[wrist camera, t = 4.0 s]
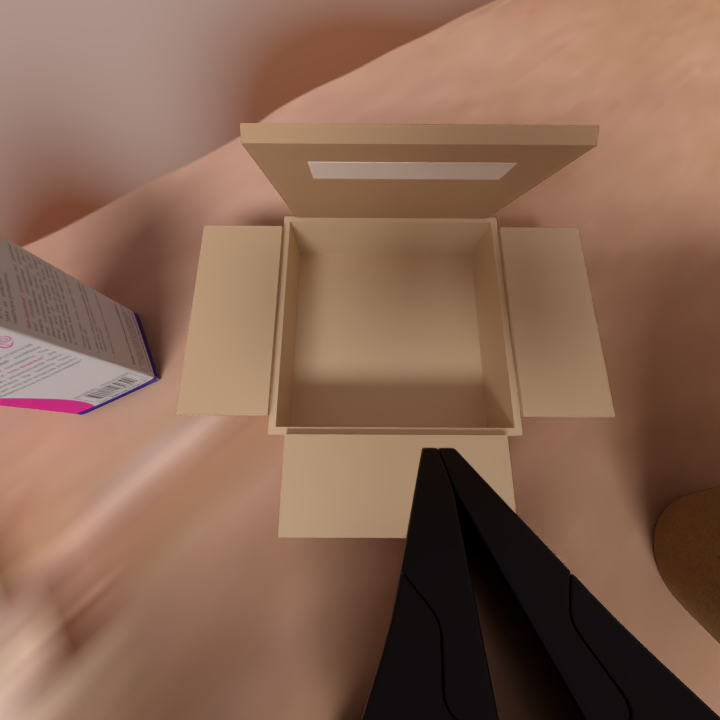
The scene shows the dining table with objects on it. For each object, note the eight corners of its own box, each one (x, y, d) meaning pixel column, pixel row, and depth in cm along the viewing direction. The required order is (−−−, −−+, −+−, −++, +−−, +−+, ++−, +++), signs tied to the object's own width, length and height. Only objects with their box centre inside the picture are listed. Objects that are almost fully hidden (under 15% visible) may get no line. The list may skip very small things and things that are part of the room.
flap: (485, 219, 20) (596, 145, 11) (297, 218, 20) (241, 143, 11) (486, 208, 20) (599, 124, 10) (296, 207, 20) (240, 122, 10)
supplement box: (137, 310, 23) (-63, 192, 12) (162, 380, 22) (-39, 319, 11) (59, 343, 23) (-228, 250, 12) (79, 417, 21) (-222, 392, 10)
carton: (579, 518, 20) (639, 539, 16) (200, 516, 20) (157, 537, 16) (538, 253, 25) (575, 214, 20) (232, 251, 25) (206, 212, 20)
